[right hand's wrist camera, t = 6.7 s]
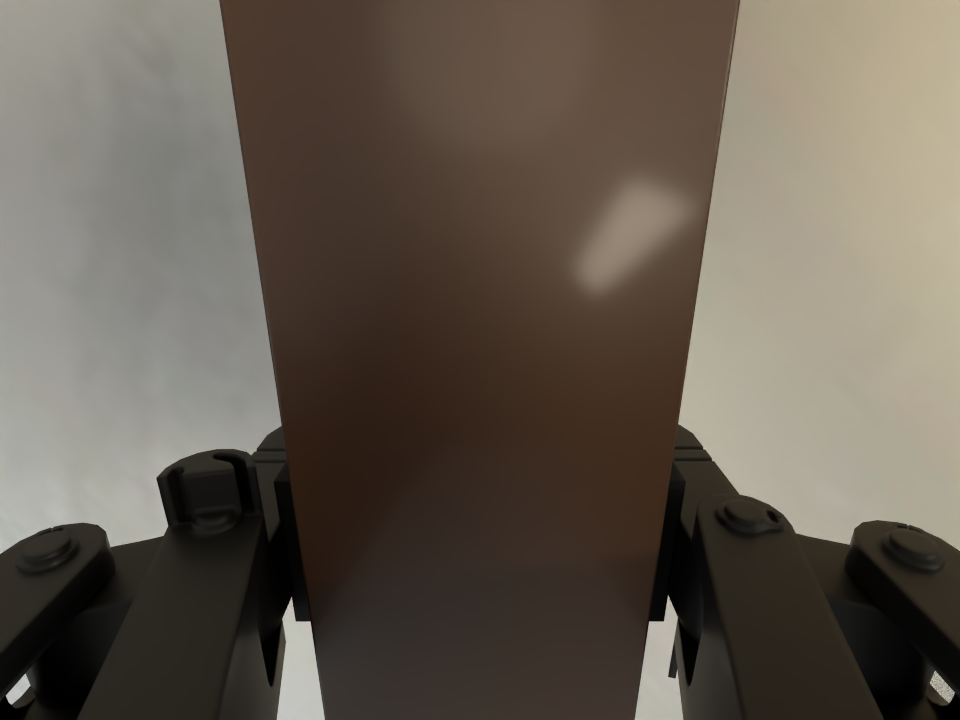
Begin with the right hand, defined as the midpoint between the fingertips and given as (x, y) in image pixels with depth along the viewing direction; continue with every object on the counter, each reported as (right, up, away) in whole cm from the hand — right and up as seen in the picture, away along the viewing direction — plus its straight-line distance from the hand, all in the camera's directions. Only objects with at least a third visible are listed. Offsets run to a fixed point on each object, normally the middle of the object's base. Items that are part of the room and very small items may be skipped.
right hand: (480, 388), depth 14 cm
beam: (0, +8, -3) cm, 8 cm away
